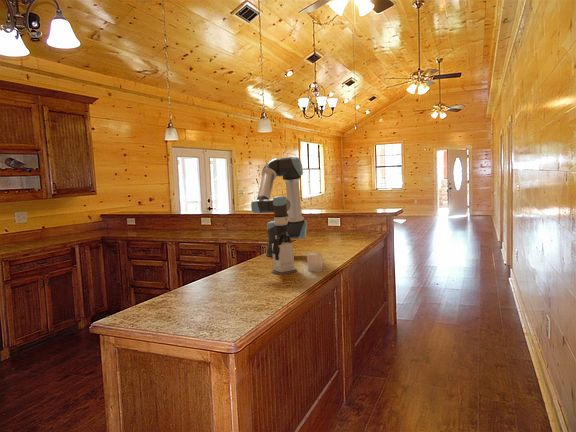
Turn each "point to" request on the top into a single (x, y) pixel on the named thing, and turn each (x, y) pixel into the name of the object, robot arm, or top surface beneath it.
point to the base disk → (283, 272)
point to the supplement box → (285, 257)
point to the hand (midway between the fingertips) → (283, 263)
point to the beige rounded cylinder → (314, 262)
